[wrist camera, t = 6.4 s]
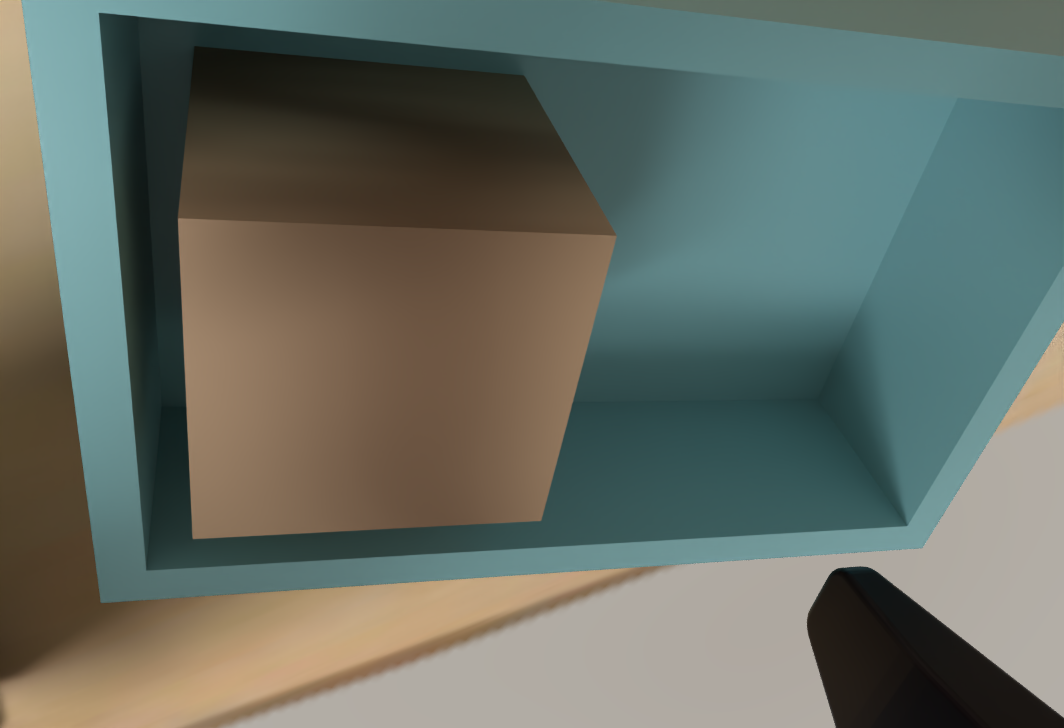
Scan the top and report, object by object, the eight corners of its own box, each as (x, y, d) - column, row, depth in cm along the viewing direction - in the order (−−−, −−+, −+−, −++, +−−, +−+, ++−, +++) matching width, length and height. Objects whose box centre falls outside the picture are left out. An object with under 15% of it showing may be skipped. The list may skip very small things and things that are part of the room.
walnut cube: (202, 324, 17) (193, 539, 13) (194, 46, 14) (177, 218, 10) (479, 327, 18) (541, 521, 15) (523, 75, 15) (616, 236, 12)
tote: (126, 414, 18) (101, 603, 15) (73, -164, 13) (12, -70, 9) (821, 404, 23) (922, 547, 20) (1022, -24, 17) (1216, 74, 14)
